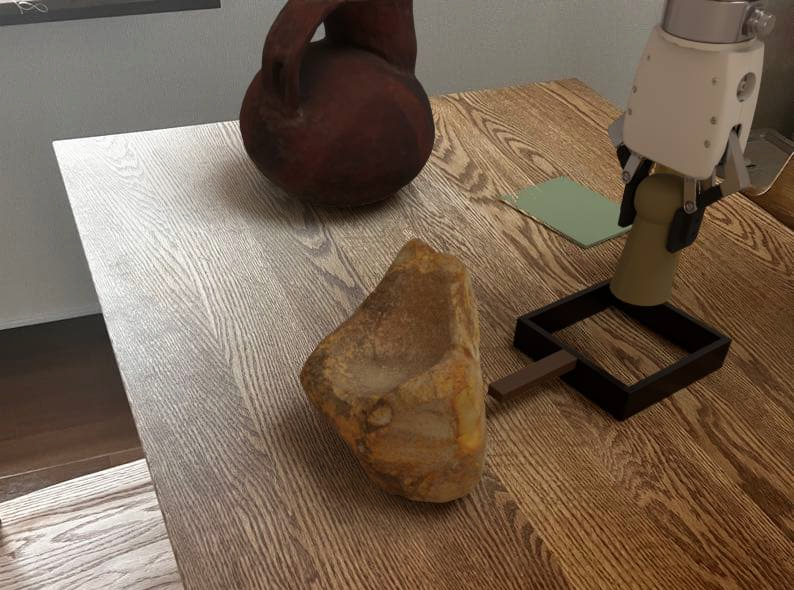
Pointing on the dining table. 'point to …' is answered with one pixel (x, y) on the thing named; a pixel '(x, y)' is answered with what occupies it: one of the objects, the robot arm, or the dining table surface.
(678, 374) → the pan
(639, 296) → the olive pawn figure
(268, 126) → the jug
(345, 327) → the rough brown rock
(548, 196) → the mat
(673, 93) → the robot arm
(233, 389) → the dining table surface
